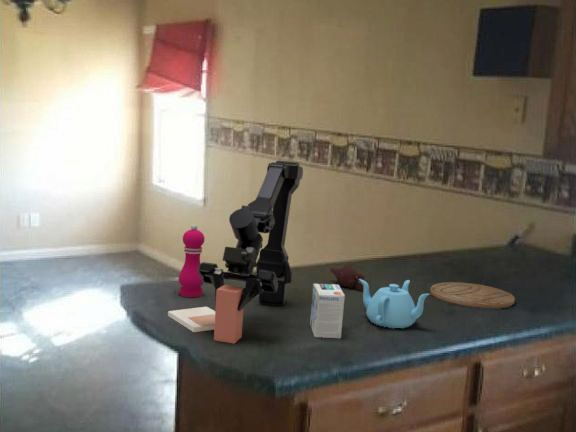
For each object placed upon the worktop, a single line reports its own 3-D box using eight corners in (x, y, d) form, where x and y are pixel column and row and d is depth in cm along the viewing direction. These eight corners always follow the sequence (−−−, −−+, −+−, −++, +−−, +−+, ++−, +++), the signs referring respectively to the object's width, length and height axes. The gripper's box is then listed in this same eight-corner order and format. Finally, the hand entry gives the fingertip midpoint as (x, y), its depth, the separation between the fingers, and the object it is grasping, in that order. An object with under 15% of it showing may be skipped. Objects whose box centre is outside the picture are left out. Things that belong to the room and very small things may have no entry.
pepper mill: (199, 299, 200) (202, 227, 196) (174, 296, 201) (177, 224, 198) (207, 292, 207) (210, 223, 203) (182, 289, 208) (186, 220, 205)
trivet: (528, 302, 223) (529, 296, 222) (489, 316, 204) (490, 309, 204) (456, 284, 239) (456, 278, 239) (414, 295, 221) (414, 289, 221)
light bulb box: (309, 323, 185) (312, 282, 183) (335, 325, 185) (338, 283, 184) (314, 337, 174) (317, 294, 172) (342, 338, 175) (345, 295, 173)
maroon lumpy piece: (320, 262, 226) (354, 277, 215) (338, 254, 231) (372, 269, 220) (322, 282, 229) (355, 298, 218) (339, 274, 233) (372, 289, 222)
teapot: (372, 331, 182) (376, 292, 180) (354, 313, 196) (357, 276, 195) (427, 331, 185) (431, 292, 183) (405, 313, 200) (409, 277, 198)
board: (167, 315, 183) (168, 310, 183) (206, 311, 189) (206, 305, 189) (193, 332, 172) (194, 326, 171) (234, 326, 178) (234, 321, 178)
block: (221, 333, 172) (224, 284, 170) (241, 337, 171) (244, 287, 169) (213, 340, 167) (216, 289, 165) (234, 343, 166) (237, 292, 164)
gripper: (202, 228, 171) (180, 284, 163) (278, 237, 166) (259, 296, 158) (213, 255, 180) (193, 309, 171) (285, 264, 175) (268, 321, 166)
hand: (227, 308), depth 167 cm, fingers closed on block, 5 cm apart
